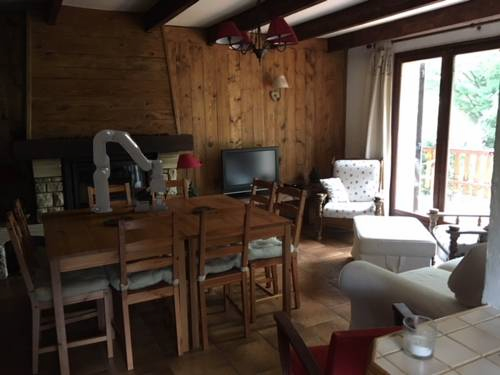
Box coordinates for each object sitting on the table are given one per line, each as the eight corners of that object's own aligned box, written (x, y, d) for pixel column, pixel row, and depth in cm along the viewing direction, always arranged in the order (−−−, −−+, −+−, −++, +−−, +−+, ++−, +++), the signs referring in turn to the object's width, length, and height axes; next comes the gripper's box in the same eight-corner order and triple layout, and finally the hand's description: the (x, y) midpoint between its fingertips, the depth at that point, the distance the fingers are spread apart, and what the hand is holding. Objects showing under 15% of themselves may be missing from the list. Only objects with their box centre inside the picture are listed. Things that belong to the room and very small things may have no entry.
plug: (156, 208, 319) (156, 197, 317) (156, 207, 322) (156, 196, 321) (162, 208, 320) (161, 196, 318) (162, 207, 323) (161, 195, 322)
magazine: (156, 201, 340) (147, 185, 334) (142, 210, 334) (133, 194, 328) (154, 201, 343) (145, 185, 337) (140, 210, 337) (131, 194, 331)
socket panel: (134, 212, 312) (134, 204, 311) (135, 209, 322) (134, 201, 321) (168, 210, 317) (167, 202, 316) (167, 207, 328) (167, 199, 327)
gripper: (145, 177, 312) (146, 200, 314) (170, 177, 315) (170, 200, 318) (146, 176, 319) (146, 199, 321) (169, 175, 323) (170, 198, 325)
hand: (158, 199), depth 320 cm, fingers open, 9 cm apart
